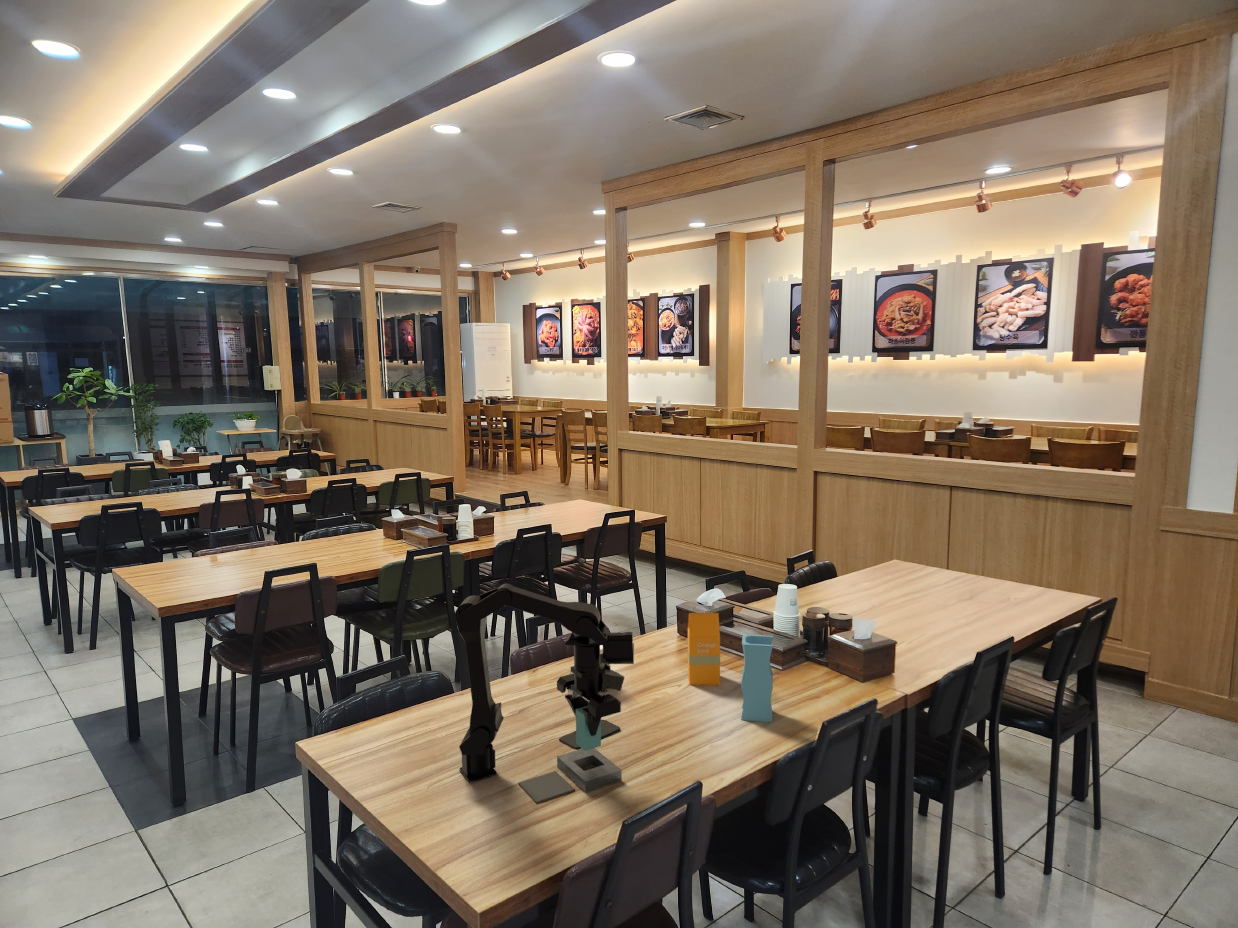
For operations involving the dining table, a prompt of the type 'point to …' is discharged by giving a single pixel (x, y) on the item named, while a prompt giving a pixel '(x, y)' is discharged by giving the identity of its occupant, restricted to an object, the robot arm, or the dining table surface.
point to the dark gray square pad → (546, 787)
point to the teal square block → (586, 732)
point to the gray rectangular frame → (593, 777)
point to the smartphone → (606, 731)
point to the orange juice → (703, 649)
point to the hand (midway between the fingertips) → (588, 731)
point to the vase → (757, 678)
